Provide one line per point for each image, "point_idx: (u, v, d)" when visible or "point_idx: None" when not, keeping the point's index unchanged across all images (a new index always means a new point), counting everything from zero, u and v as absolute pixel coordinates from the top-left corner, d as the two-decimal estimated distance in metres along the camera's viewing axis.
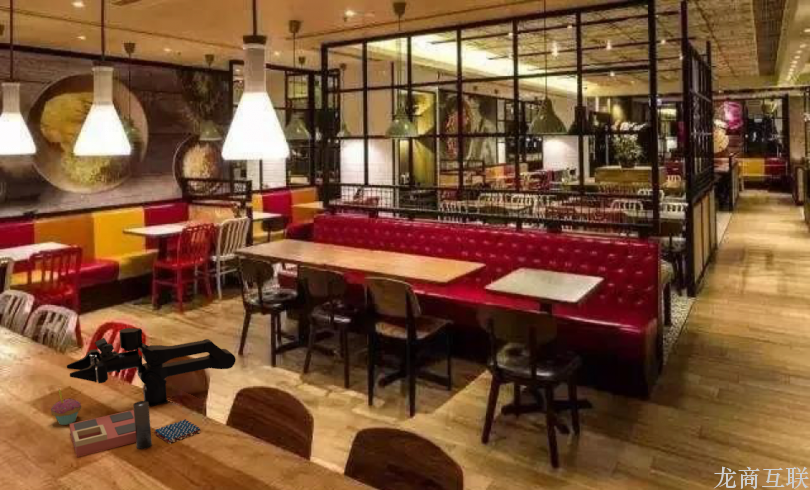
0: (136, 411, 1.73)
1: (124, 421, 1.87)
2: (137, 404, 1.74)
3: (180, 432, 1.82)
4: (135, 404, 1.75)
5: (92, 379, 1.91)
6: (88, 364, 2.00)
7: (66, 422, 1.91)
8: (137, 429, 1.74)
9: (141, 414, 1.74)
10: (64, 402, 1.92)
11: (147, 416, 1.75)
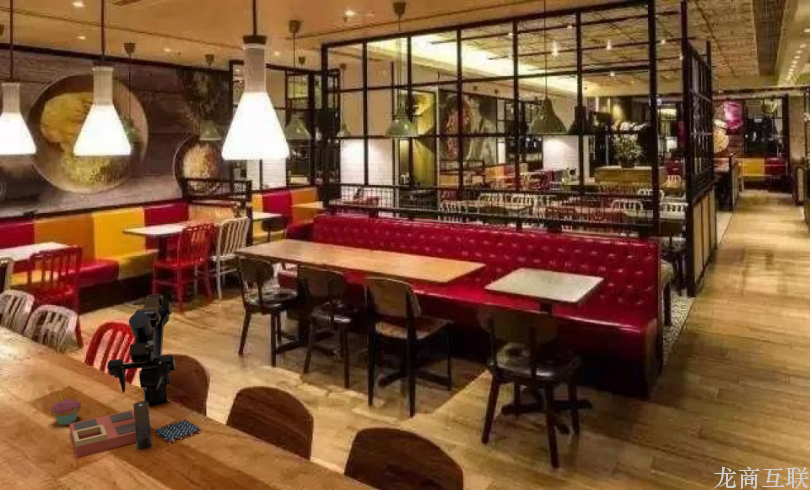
0: (136, 411, 1.73)
1: (124, 421, 1.87)
2: (137, 404, 1.74)
3: (180, 432, 1.82)
4: (135, 404, 1.75)
5: (165, 373, 1.89)
6: (124, 374, 1.85)
7: (66, 422, 1.91)
8: (137, 429, 1.74)
9: (141, 414, 1.74)
10: (64, 402, 1.92)
11: (147, 416, 1.75)
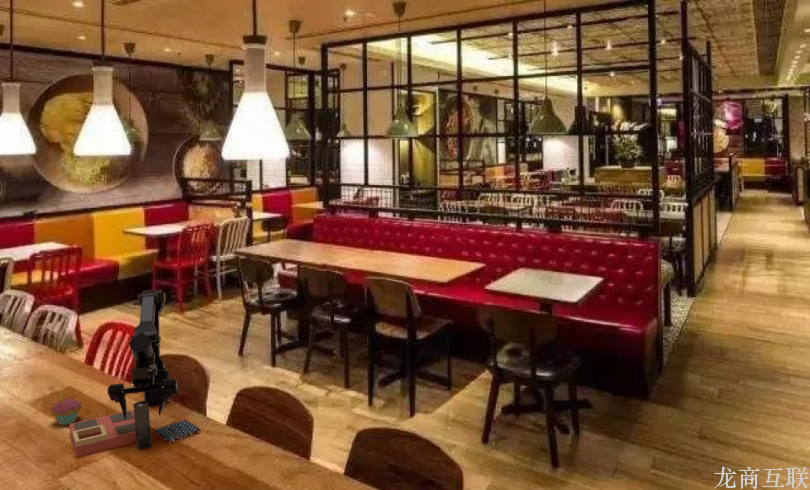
0: (136, 411, 1.73)
1: (124, 421, 1.87)
2: (137, 404, 1.74)
3: (180, 432, 1.82)
4: (135, 404, 1.75)
5: (167, 397, 1.84)
6: (125, 399, 1.79)
7: (66, 422, 1.91)
8: (137, 429, 1.74)
9: (141, 414, 1.74)
10: (64, 402, 1.92)
11: (147, 416, 1.75)
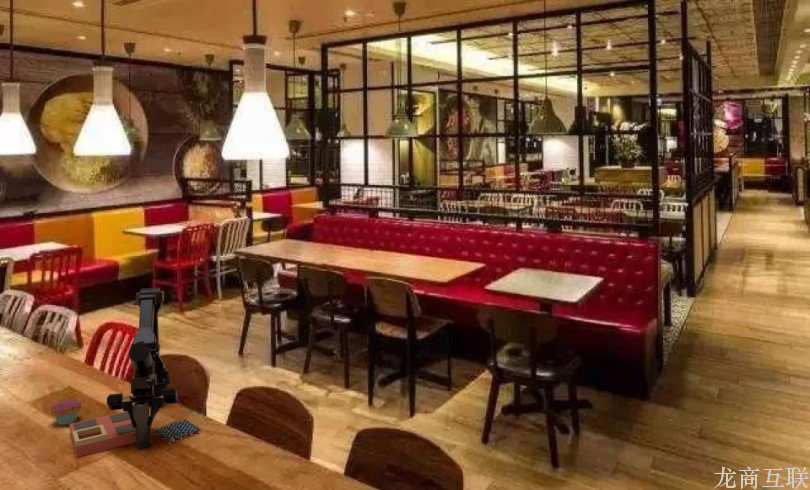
0: (136, 411, 1.73)
1: (124, 421, 1.87)
2: (137, 404, 1.74)
3: (180, 432, 1.82)
4: (135, 404, 1.75)
5: (158, 408, 1.81)
6: (133, 408, 1.78)
7: (66, 422, 1.91)
8: (137, 429, 1.74)
9: (141, 414, 1.74)
10: (64, 402, 1.92)
11: (147, 416, 1.75)
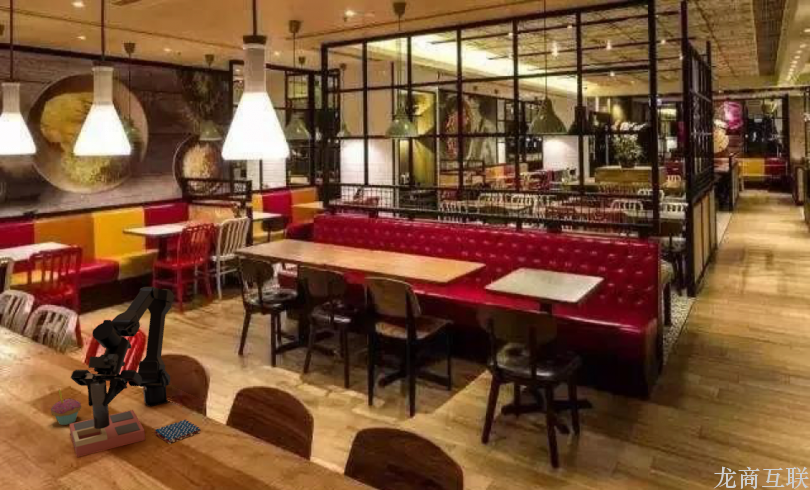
0: (91, 390, 1.72)
1: (124, 421, 1.87)
2: (94, 383, 1.73)
3: (180, 432, 1.82)
4: (93, 382, 1.73)
5: (121, 389, 1.77)
6: None
7: (66, 422, 1.91)
8: (93, 408, 1.72)
9: (95, 393, 1.71)
10: (64, 402, 1.92)
11: (102, 396, 1.72)
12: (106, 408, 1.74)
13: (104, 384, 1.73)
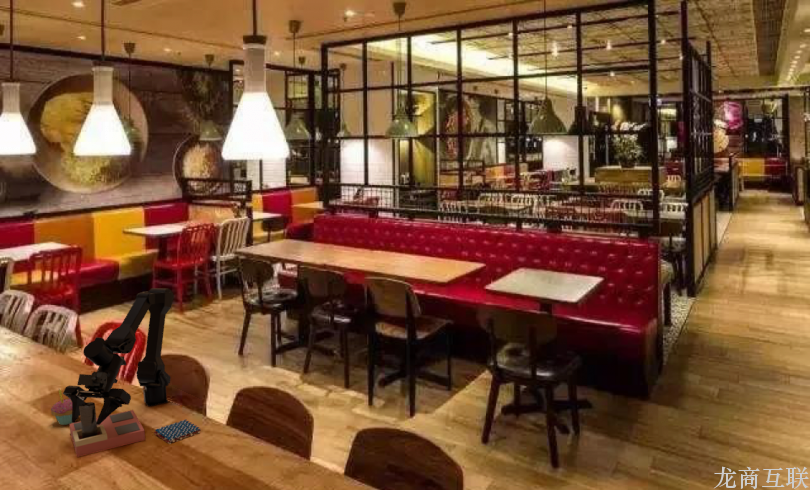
0: (80, 412, 1.73)
1: (124, 421, 1.87)
2: (83, 405, 1.74)
3: (180, 432, 1.82)
4: (82, 404, 1.75)
5: (115, 407, 1.78)
6: (82, 402, 1.79)
7: (66, 422, 1.91)
8: None
9: (83, 416, 1.73)
10: (64, 402, 1.92)
11: (90, 419, 1.74)
12: (94, 430, 1.75)
13: (92, 407, 1.74)
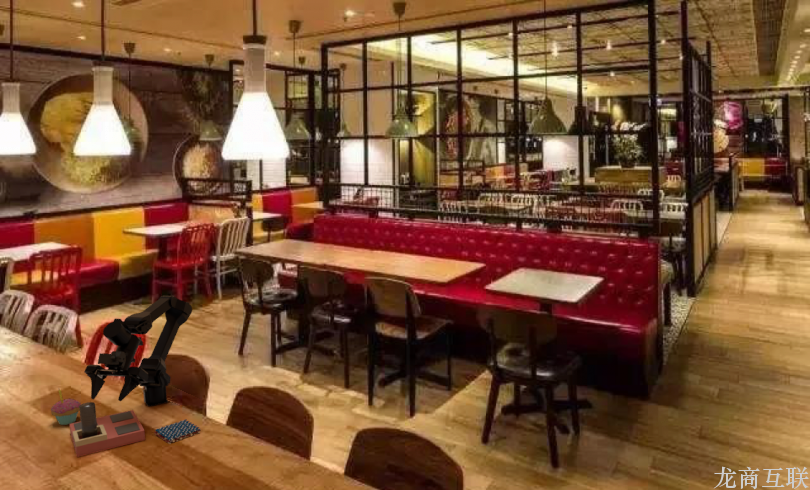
0: (80, 412, 1.73)
1: (124, 421, 1.87)
2: (83, 405, 1.74)
3: (180, 432, 1.82)
4: (82, 404, 1.75)
5: (136, 385, 1.87)
6: (100, 380, 1.88)
7: (66, 422, 1.91)
8: None
9: (83, 416, 1.73)
10: (64, 402, 1.92)
11: (90, 419, 1.74)
12: (94, 430, 1.75)
13: (92, 407, 1.74)
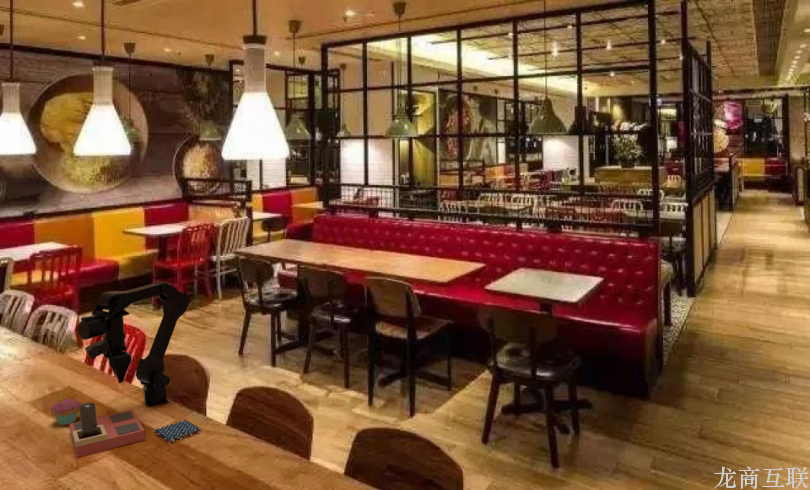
0: (80, 412, 1.73)
1: (124, 421, 1.87)
2: (83, 405, 1.74)
3: (180, 432, 1.82)
4: (82, 404, 1.75)
5: (127, 365, 1.90)
6: None
7: (66, 422, 1.91)
8: None
9: (83, 416, 1.73)
10: (64, 402, 1.92)
11: (90, 419, 1.74)
12: (94, 430, 1.75)
13: (92, 407, 1.74)
